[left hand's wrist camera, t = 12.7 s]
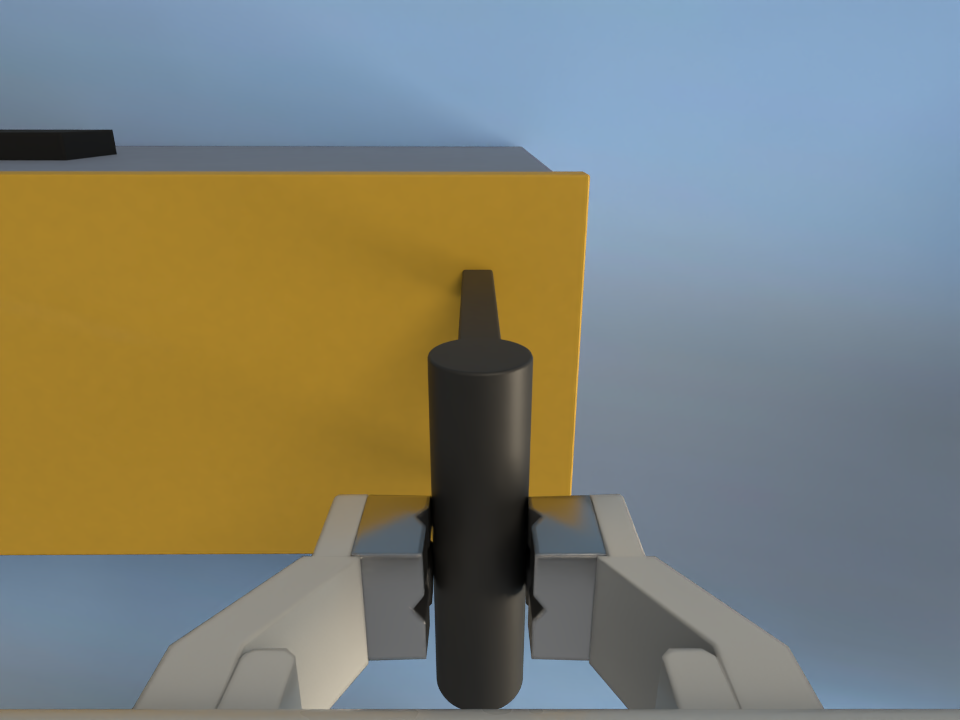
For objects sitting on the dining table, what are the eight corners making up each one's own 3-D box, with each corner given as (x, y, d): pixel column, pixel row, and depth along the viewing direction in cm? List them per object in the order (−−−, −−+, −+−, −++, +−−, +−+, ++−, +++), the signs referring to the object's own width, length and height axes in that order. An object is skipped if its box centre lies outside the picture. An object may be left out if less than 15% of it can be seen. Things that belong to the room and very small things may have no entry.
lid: (584, 171, 15) (683, 225, 8) (563, 535, 19) (619, 794, 12) (-173, 170, 15) (-754, 225, 8) (-47, 538, 18) (-369, 802, 11)
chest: (523, 146, 25) (555, 171, 15) (517, 385, 29) (540, 535, 19) (91, 146, 25) (-171, 170, 15) (139, 385, 29) (-46, 536, 19)
